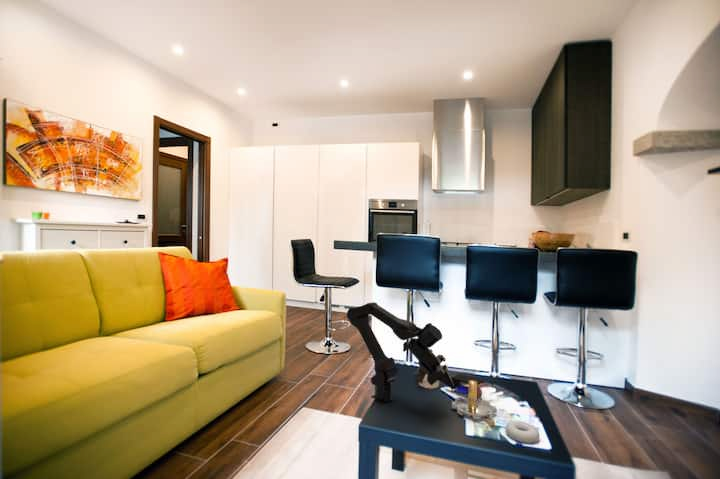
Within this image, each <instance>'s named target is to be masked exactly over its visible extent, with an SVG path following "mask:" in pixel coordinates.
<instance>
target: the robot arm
mask: <svg viewBox="0 0 720 479" xmlns="http://www.w3.org/2000/svg"><path fill="white" fill-rule="evenodd" d="M369 315H371V316H372V317H374V318H376V319H377V320H379V321H380V322H382V323H383V324H385V325H386V326H387V327H388V328H390V329H391V330H392V332H393V334H394V335H395V336H396V337H397V338H398V339H399V340H401V341H404V343H403V345H402V347H403V348H402V352H403V353H404V352H406V351H409V352H410V353H411V354H412V355H413V356H414V357H415V358H416V360H417V361H418V362H417V364H418V368H417V370H415V371H414V373H413V374H412V378H413V381H414V382H415V383H418V384H419V383H421V384H422V382H423V379H424V377H425V375H426V374H427V375H428V376H427V382H428V383H429V384H430V385H433V384H434V383H435V382H436V381H439V382H441V383H443V384H444V385H445V384H446V385H447V386H449V387H448V388H450V390H452V389H453V388H454V384H453V382H452V379H451V377H452V376H451V374H450V372H449V368H448V366H447V364H444V365H441V364H442V362H446V359H447V358H446V357H445V356H444V355H443V354H438V355H435V354H434V353H433V352H434V351H433V350H432V348H431V347H433V346H434V345H435V344H437V343H438V342H440V341H441V340H442V339H443V334H442V332H441V330H440V329H439V328H437V326H434V325H433V324H432V322H428V323H427V324H426V325H425V326H424V327H423V328H421V327H419V326H417V324H415V323H414V322H412V321H409V320H408V319H404V318H403V319H402V318H399V317H397V316H396V315H394V314H393V313H391V312H390V311H388V310H386V309H385V308H383V307H382V306H380V305H378V303H377V302H374V301H373V302H367V303H366V304H363V305H360V306H354V307H353V306H352V307H350V308H348V310H347V312H346V317H347V320H348V322H350V324H351V326H353V327H355V328H356V329H357V331H359V334H360V336H361V338H362V339H363V342H364V344H365V346H366V348H367V350H368V352H369V353H370V355H371V358H372V359H373V361H374V372H375V374H374V375H373V376H372V377H370V381H371V385H374V395H371V398H372V399H373V400H375V398H376V400H375V401H377V402H379V403H380V404H383V403H386V402H391V401H394V400H395V398H394V397H392V384H391V383H394V382H395V380H396V378H398V375H399V369H398V367H399V366H398V365H397V364H396V362H395V359H394V358H393V357H388V356H387V355H386V353H385V352H384V350H383V348H382V346H381V345H380V343H379V341H378V338H377V336H376V335H375V333H374V331H373V329H372V327H371V326H370V316H369ZM416 337H417V338H416ZM405 340H409V341H405ZM419 365H420V366H419ZM446 385H445V386H446ZM447 386H446V387H447ZM453 390H454V389H453Z"/></svg>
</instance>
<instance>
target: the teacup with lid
mask: <svg viewBox="0 0 720 479" xmlns="http://www.w3.org/2000/svg"><path fill="white" fill-rule="evenodd" d="M419 366H420V365H419V364H418V367H419ZM427 376H428V375H427V374H426V375H425V377H424V379H423V382H422V384H421V383H419V382H418V385H419V386H420V387H422V388H425V389H430V390H431V389H437V388H439V385H440V381H436V382H435V383H434V384H433V385H430V384H429V383H428V382H427Z"/></svg>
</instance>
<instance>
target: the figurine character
mask: <svg viewBox="0 0 720 479" xmlns="http://www.w3.org/2000/svg"><path fill="white" fill-rule="evenodd" d="M451 379H452V382H453V384H454V388H453V389H450V390H451V391H450V392H452V391H454V392H453V393H459V392H460V394H464V395H468V392H469V380H474V381H477V399H479V400H480V399H481V397H482V396H483V391H482V389H481V387H479V386H478V385H481V384H482V383H484V382H485V380H483V379H480V378H475V377H473V376H468V375H466V374H462V373H458V374H455V375H452V376H451ZM462 383H464V384H468V385H464V384H462ZM444 385H445V386H446V387H448V388H450V387H449V386H447V385H446V384H444ZM454 389H455V390H454Z"/></svg>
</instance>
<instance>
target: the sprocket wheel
mask: <svg viewBox="0 0 720 479" xmlns="http://www.w3.org/2000/svg"><path fill="white" fill-rule="evenodd" d="M468 386H469V392H468V394H467V395H468V397H461V396H458V397H456V398H454V399H455V401H451V407H452V408H451V409H456V413H457V414H458V415H460V416H467V417H471V418H472V419H474V420H481V419H483V418H486V419H492V418H495V414H497V411H498V410H497V406H496V405H491V402H490V401H489V400H486V399H480V398H479V399H477V386H478V385H477V381H474V380H469V384H468Z"/></svg>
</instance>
